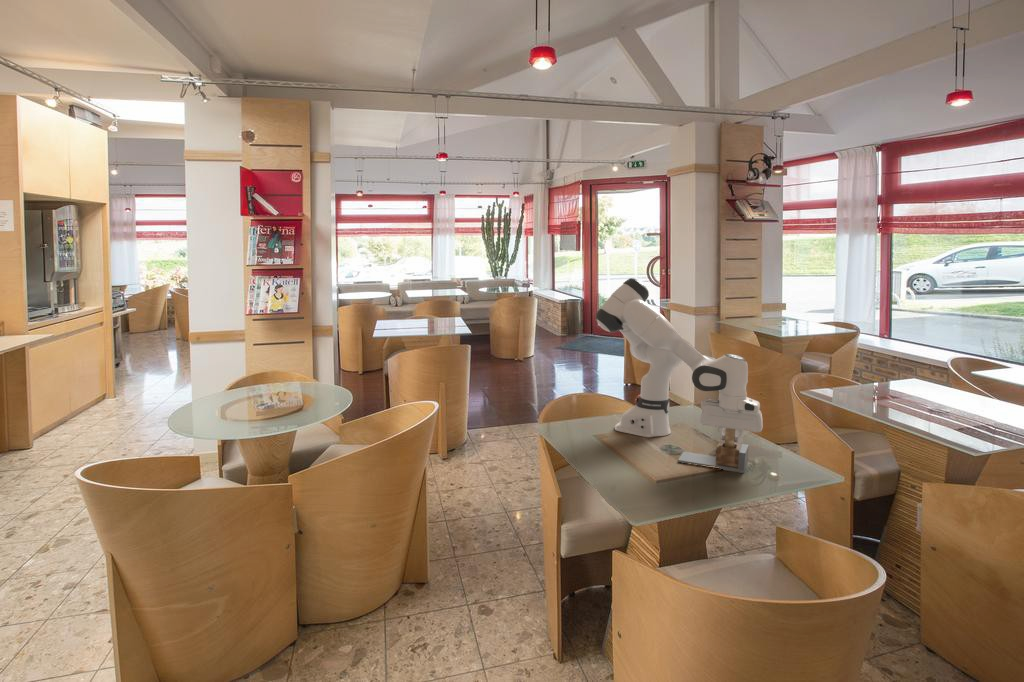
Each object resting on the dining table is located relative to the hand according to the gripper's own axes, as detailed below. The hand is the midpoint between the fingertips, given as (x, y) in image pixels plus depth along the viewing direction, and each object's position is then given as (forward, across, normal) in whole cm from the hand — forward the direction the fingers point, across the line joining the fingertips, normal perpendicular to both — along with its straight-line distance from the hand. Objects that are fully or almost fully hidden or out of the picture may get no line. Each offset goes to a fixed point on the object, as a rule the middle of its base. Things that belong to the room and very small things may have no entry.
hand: (729, 440), depth 214 cm
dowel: (+6, 0, 0) cm, 6 cm away
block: (+8, 0, 0) cm, 8 cm away
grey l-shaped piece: (+9, -5, 0) cm, 10 cm away
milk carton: (+9, -1, +18) cm, 21 cm away
